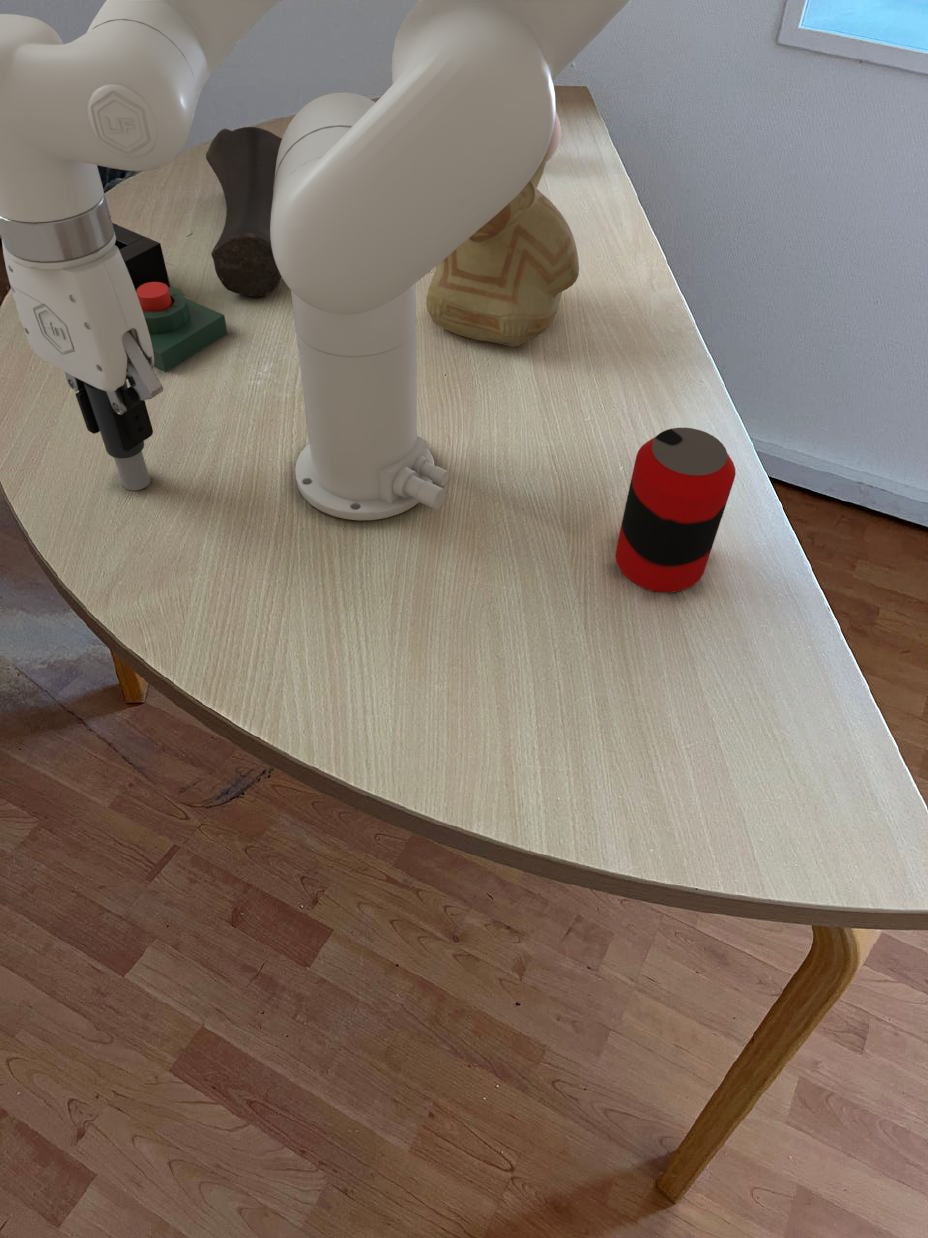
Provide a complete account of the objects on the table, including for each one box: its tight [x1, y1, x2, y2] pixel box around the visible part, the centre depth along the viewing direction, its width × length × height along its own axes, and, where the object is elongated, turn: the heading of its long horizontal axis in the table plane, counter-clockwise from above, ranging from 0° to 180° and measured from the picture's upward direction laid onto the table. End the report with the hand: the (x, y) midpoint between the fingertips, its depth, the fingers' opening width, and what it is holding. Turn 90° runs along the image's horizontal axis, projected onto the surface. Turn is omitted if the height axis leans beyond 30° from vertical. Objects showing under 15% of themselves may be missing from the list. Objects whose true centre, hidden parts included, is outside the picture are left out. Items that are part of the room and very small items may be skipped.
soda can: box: [614, 427, 736, 593], centre depth 74 cm, size 8×8×12 cm
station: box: [142, 286, 228, 372], centre depth 97 cm, size 10×9×4 cm
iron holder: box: [112, 222, 171, 291], centre depth 101 cm, size 9×9×6 cm
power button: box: [136, 282, 172, 312], centre depth 95 cm, size 3×3×2 cm
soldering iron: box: [84, 379, 151, 492], centre depth 79 cm, size 3×3×11 cm
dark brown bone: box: [205, 126, 283, 298], centre depth 110 cm, size 11×10×28 cm
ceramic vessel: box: [425, 144, 580, 348], centre depth 94 cm, size 17×20×25 cm
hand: (120, 431), depth 79 cm, fingers closed on soldering iron, 3 cm apart
